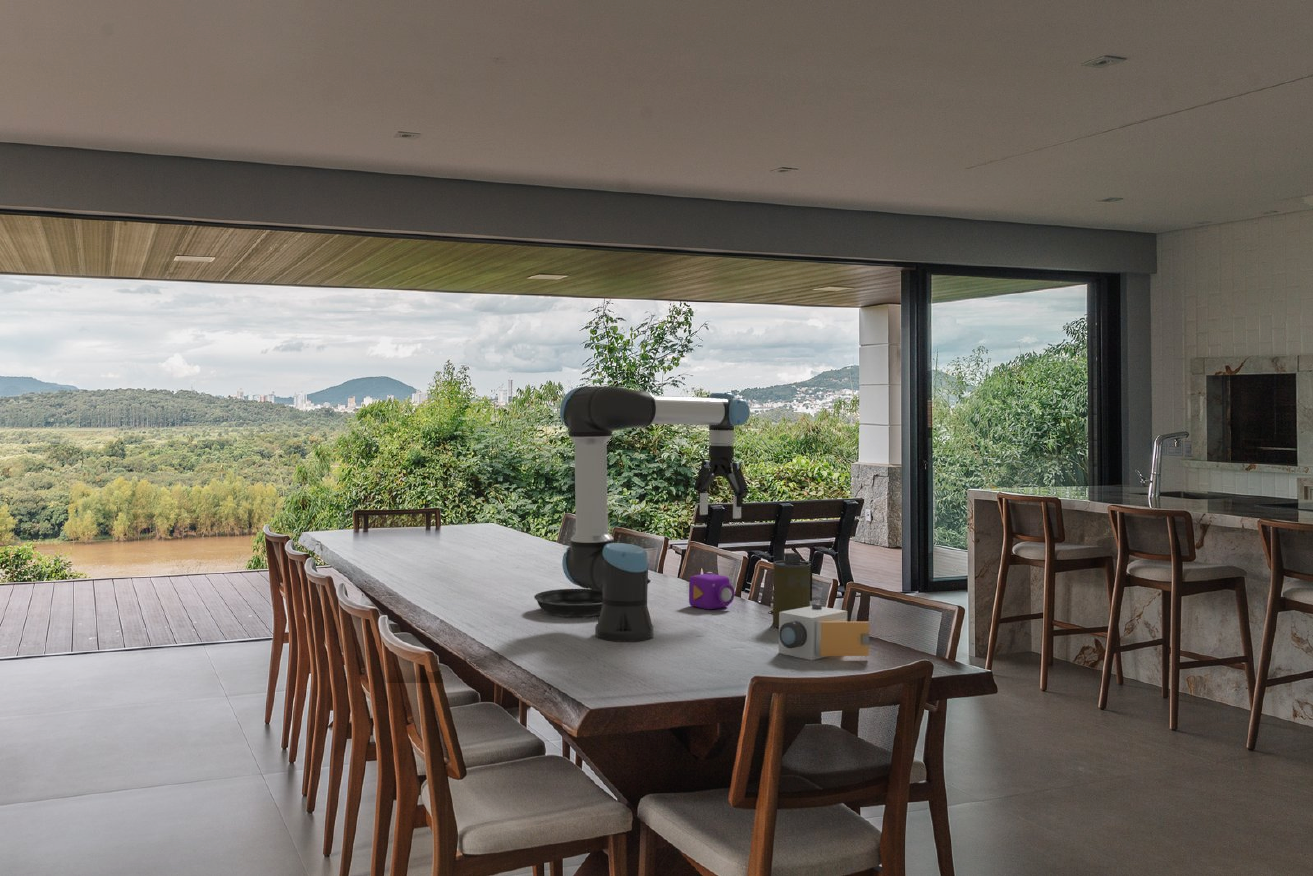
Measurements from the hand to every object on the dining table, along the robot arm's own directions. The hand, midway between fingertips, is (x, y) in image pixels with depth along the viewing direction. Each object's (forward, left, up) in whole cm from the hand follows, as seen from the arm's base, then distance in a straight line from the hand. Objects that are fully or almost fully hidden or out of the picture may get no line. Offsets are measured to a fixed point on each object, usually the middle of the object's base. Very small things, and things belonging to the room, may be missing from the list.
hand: (720, 516), depth 317 cm
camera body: (-28, -55, -27) cm, 68 cm away
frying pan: (-29, +23, -28) cm, 46 cm away
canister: (-4, -31, -28) cm, 42 cm away
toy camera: (0, +2, -28) cm, 28 cm away
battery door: (-28, -65, -26) cm, 75 cm away
